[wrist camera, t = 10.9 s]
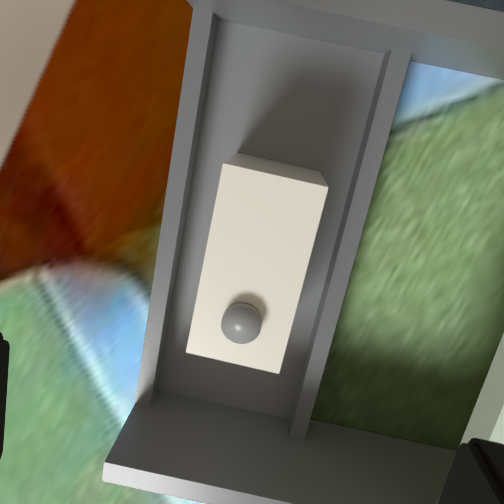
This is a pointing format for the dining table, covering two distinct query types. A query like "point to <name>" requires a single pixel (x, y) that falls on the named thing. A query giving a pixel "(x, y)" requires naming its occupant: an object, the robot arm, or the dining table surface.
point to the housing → (322, 256)
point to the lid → (489, 404)
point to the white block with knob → (255, 261)
